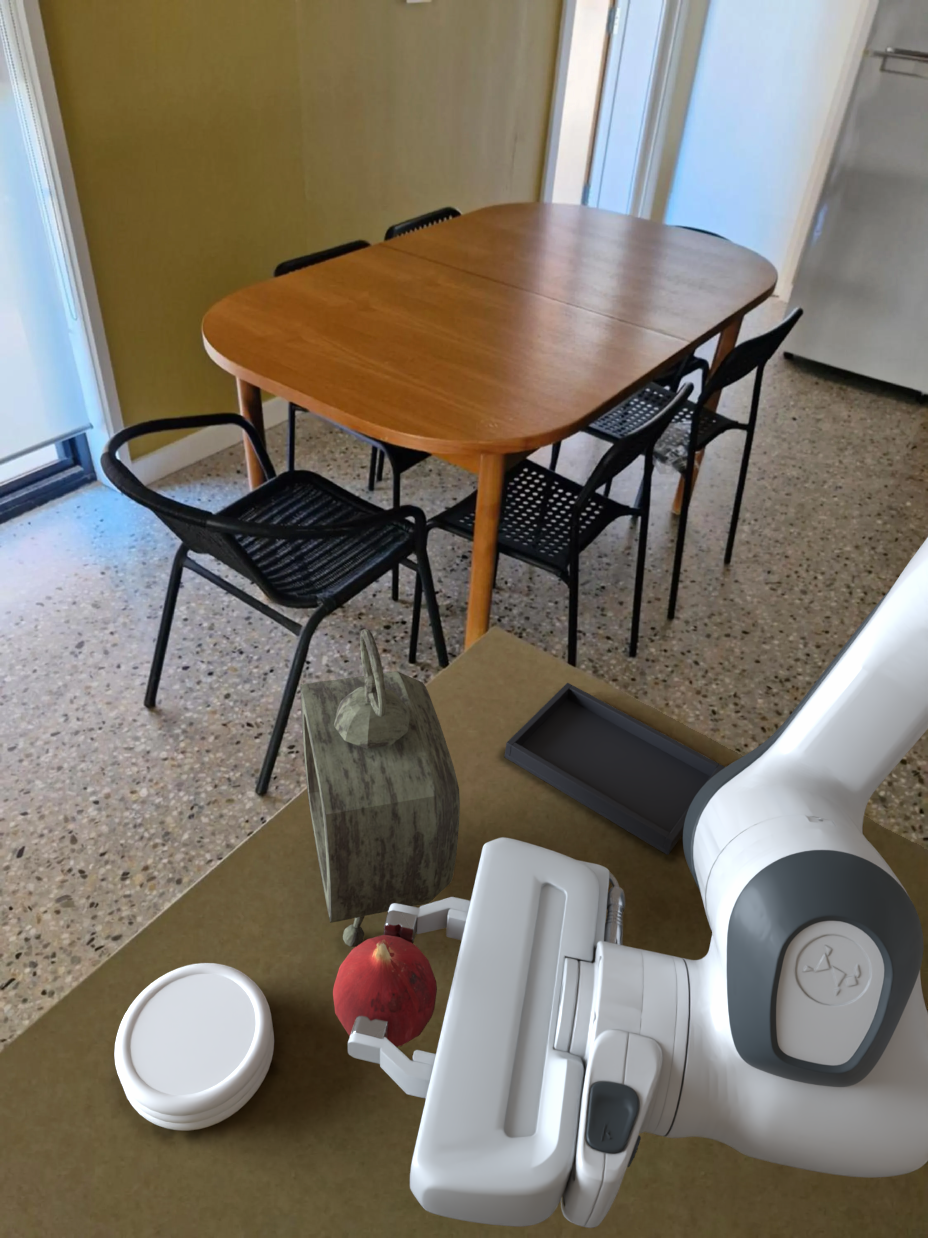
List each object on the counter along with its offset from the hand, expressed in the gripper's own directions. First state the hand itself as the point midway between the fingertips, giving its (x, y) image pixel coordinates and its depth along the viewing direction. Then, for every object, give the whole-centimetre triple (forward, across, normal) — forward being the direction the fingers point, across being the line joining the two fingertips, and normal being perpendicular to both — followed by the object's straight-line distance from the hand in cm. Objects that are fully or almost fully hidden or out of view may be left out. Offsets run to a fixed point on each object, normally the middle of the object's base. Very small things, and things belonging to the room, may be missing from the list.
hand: (369, 975), depth 50 cm
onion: (-1, 0, +5) cm, 5 cm away
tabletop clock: (+4, -16, +16) cm, 23 cm away
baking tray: (-14, -33, +15) cm, 39 cm away
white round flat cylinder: (+12, 0, +16) cm, 20 cm away
